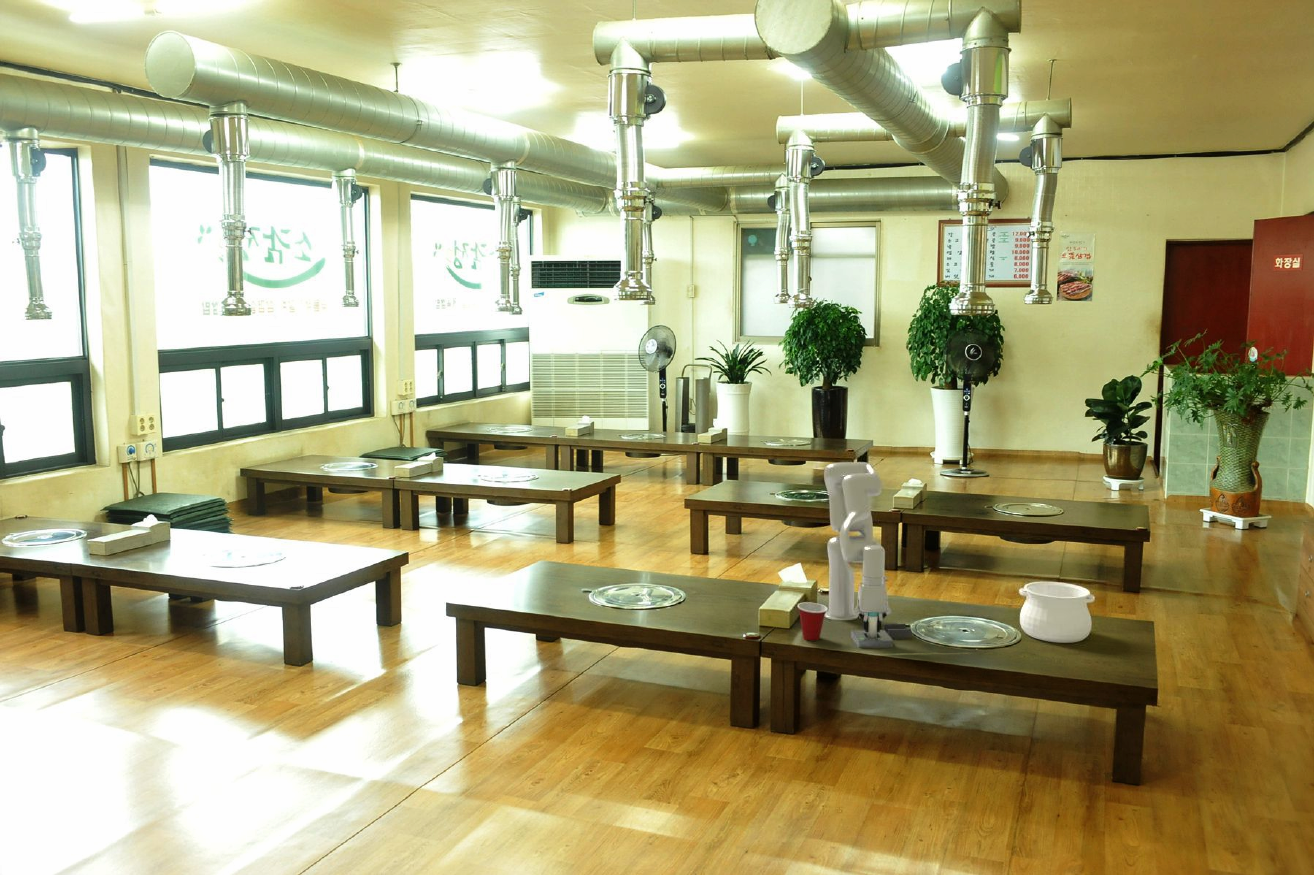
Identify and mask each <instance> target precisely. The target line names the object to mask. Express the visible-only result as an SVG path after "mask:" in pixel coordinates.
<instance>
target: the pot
mask: <svg viewBox="0 0 1314 875" xmlns="http://www.w3.org/2000/svg"><path fill="white" fill-rule="evenodd" d="M1018 593H1019V594H1020V596H1023V597H1025V598H1026V599H1025V601H1024V603H1023V606H1022V607H1021V610H1020V612H1019V613H1020V614H1019V624H1020V627H1021V629H1022V631H1023V632H1024V633H1025V634H1026V635H1028V636H1029V637H1032V638H1034V639H1036V640H1040V641H1045V642H1050V643H1059V644H1060V643H1064V644H1065V643H1066V644H1067V643H1071V644H1072V643H1077V642H1081V641H1083V640H1085V639H1086V638H1087V637H1088V636H1089V634H1090V633H1091V630H1092V624H1093V622H1092V617H1091V614H1090V611H1089V608H1088V605H1087V604H1089V603H1093V602H1095V599H1096V598H1095V595H1094V594H1091V592H1090V590H1089V589H1087V588H1085V587H1083V586H1081V585H1076V584H1072V583H1067V582H1057V581H1033V582H1029V583H1026V584H1025V585H1024V586H1023V587H1022V588H1019V590H1018Z"/></svg>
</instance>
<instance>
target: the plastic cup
mask: <svg viewBox="0 0 1314 875" xmlns="http://www.w3.org/2000/svg"><path fill="white" fill-rule="evenodd" d="M797 609H798V613H799V618H800V628H801V630H802V637H803V639H804V640H806V641H811V642H812V641H818V640H820V638H821V632H822V628H823V624H824V618H825V613H826V611H828V610H829V607H827V606H826V605H824V604H821V603H819V602H817V603H816V602H810V601H809V602H808V601H805V602H800V603H798V604H797Z"/></svg>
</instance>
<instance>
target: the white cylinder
mask: <svg viewBox="0 0 1314 875" xmlns="http://www.w3.org/2000/svg"><path fill="white" fill-rule="evenodd" d="M867 619H868V622H869V623H868V632H867V638H877V621H878V613H875V612H873V613H868V617H867Z"/></svg>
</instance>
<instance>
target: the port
mask: <svg viewBox="0 0 1314 875" xmlns="http://www.w3.org/2000/svg"><path fill="white" fill-rule="evenodd" d="M850 635H851V639H852V640H853V642H854V644H856V646H857V648H859V649H861V648H862V649H864V648H866V649H867V648H871V649H873V648H875V649H876V648H877V649H878V648H894V640H893V638H891V637H890V636H889V635H888V634H887V632H886V631H885V630H883V629H880V632H877V638H867V632H865V630H864V629H860V630H859V629H858V630H851V633H850Z"/></svg>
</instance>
